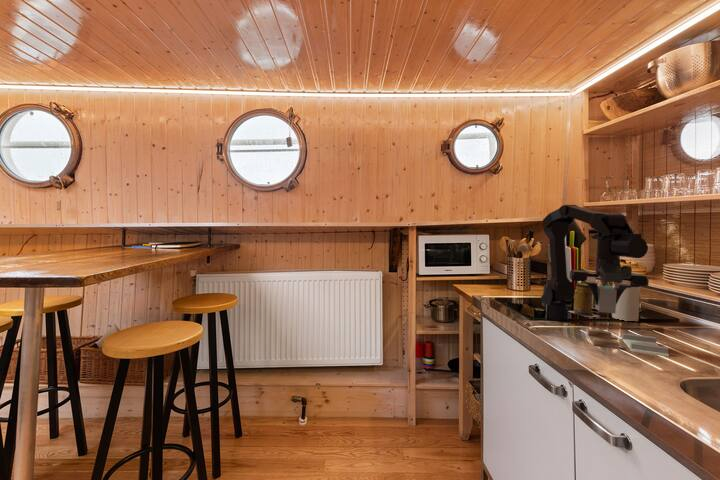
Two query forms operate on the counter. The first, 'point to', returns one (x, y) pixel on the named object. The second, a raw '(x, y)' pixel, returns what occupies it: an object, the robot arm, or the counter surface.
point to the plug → (606, 299)
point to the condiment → (583, 300)
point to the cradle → (644, 344)
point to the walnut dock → (602, 339)
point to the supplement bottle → (545, 290)
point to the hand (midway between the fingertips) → (605, 305)
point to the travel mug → (628, 304)
